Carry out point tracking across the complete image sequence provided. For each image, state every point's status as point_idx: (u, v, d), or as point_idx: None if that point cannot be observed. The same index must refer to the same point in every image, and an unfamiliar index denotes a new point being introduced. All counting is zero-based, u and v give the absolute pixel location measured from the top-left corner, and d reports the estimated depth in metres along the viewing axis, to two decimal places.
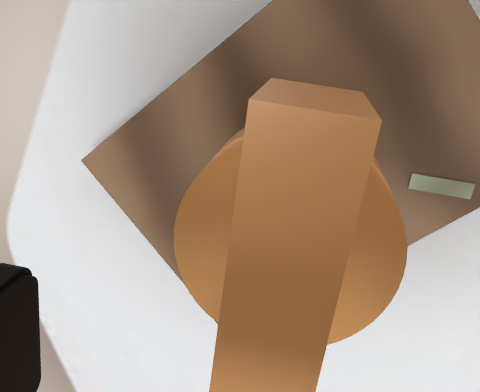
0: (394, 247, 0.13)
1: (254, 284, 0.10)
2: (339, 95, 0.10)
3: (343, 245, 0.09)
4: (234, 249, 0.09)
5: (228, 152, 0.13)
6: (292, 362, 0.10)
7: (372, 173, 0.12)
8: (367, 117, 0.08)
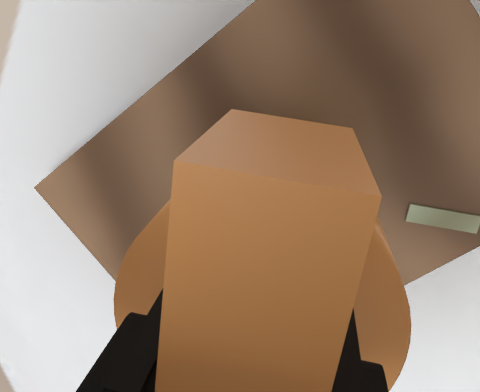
0: (394, 324, 0.10)
1: None
2: (319, 139, 0.07)
3: (324, 372, 0.06)
4: (165, 371, 0.06)
5: None
6: None
7: None
8: (359, 190, 0.05)
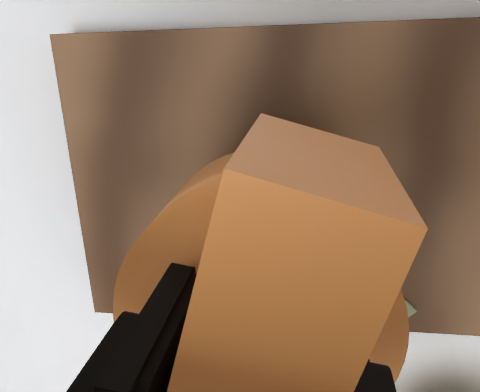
0: (392, 342, 0.10)
1: None
2: (352, 156, 0.07)
3: (341, 391, 0.06)
4: (180, 374, 0.06)
5: (194, 200, 0.10)
6: None
7: None
8: (405, 219, 0.05)
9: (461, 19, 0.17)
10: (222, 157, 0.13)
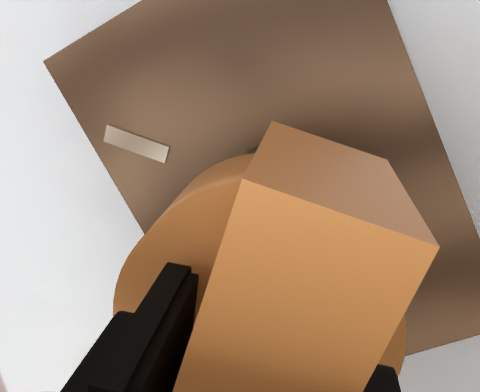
0: (389, 352, 0.10)
1: None
2: (363, 169, 0.07)
3: None
4: (186, 378, 0.06)
5: (200, 203, 0.10)
6: None
7: None
8: (417, 237, 0.05)
9: None
10: (227, 160, 0.13)
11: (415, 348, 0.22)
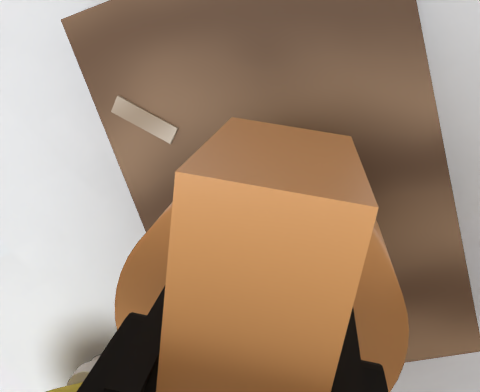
0: (393, 330, 0.10)
1: None
2: (318, 148, 0.08)
3: (322, 379, 0.06)
4: (166, 377, 0.06)
5: None
6: None
7: None
8: (356, 201, 0.05)
9: (470, 292, 0.20)
10: None
11: None
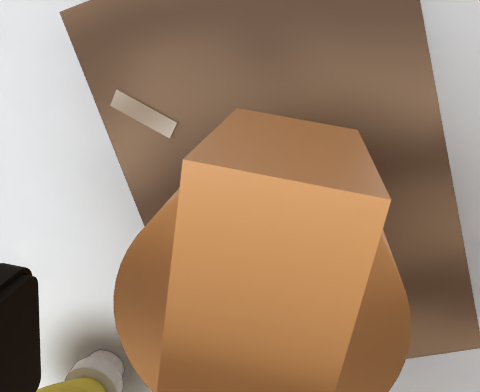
0: (395, 326, 0.10)
1: None
2: (326, 140, 0.07)
3: (328, 374, 0.06)
4: (167, 371, 0.06)
5: None
6: None
7: None
8: (368, 193, 0.05)
9: (470, 289, 0.20)
10: None
11: None
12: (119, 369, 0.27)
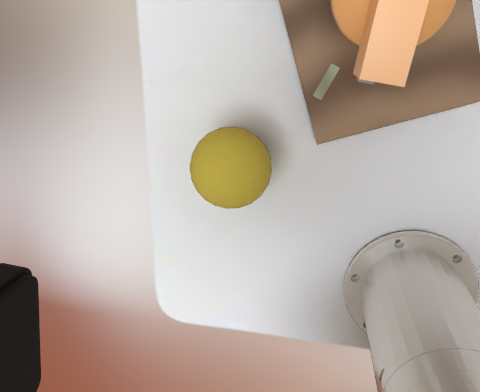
0: None
1: None
2: None
3: None
4: None
5: None
6: None
7: None
8: None
9: (479, 60, 0.36)
10: None
11: (428, 111, 0.38)
12: None
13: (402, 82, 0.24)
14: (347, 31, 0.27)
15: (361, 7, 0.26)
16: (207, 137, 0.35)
